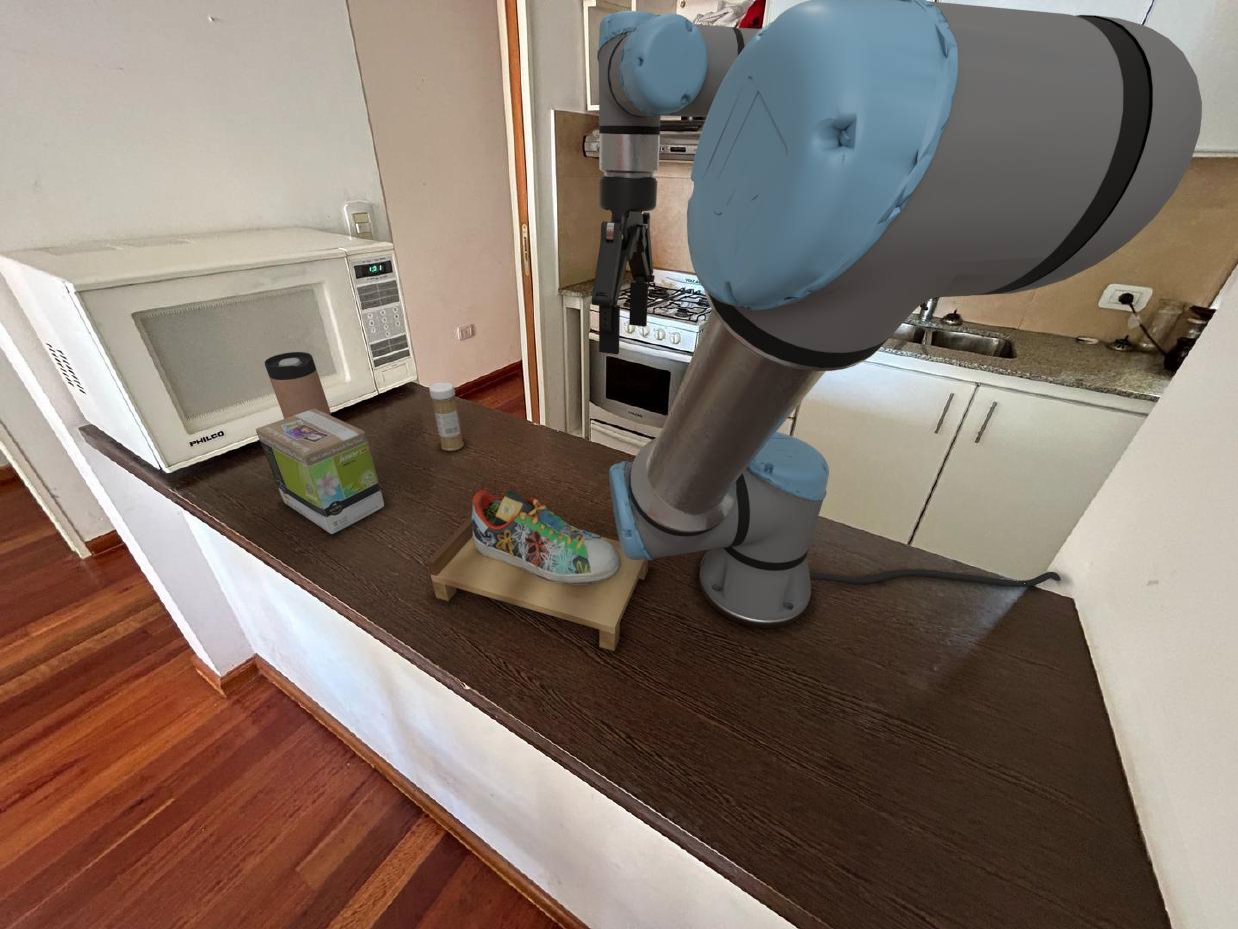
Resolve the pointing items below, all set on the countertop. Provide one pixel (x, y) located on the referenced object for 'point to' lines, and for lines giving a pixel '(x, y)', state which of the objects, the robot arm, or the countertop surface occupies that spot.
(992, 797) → the countertop surface
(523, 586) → the platform
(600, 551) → the sneaker
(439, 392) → the sprinkles bottle
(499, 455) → the countertop surface
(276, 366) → the travel mug
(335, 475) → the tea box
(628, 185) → the robot arm
